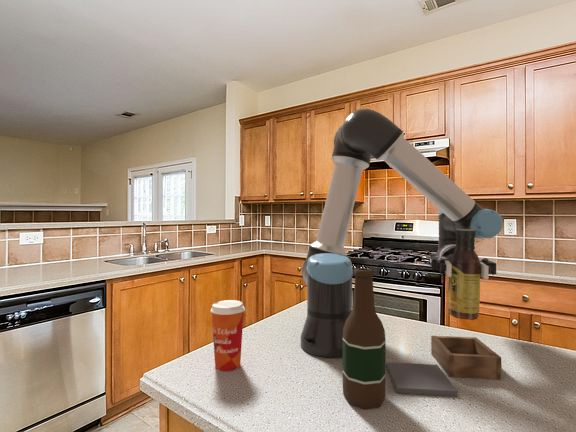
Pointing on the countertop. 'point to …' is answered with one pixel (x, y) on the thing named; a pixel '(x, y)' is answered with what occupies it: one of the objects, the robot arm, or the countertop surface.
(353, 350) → the beer bottle
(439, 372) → the rubber mat
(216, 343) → the paper cup
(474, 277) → the sauce bottle
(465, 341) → the collar
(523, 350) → the countertop surface
